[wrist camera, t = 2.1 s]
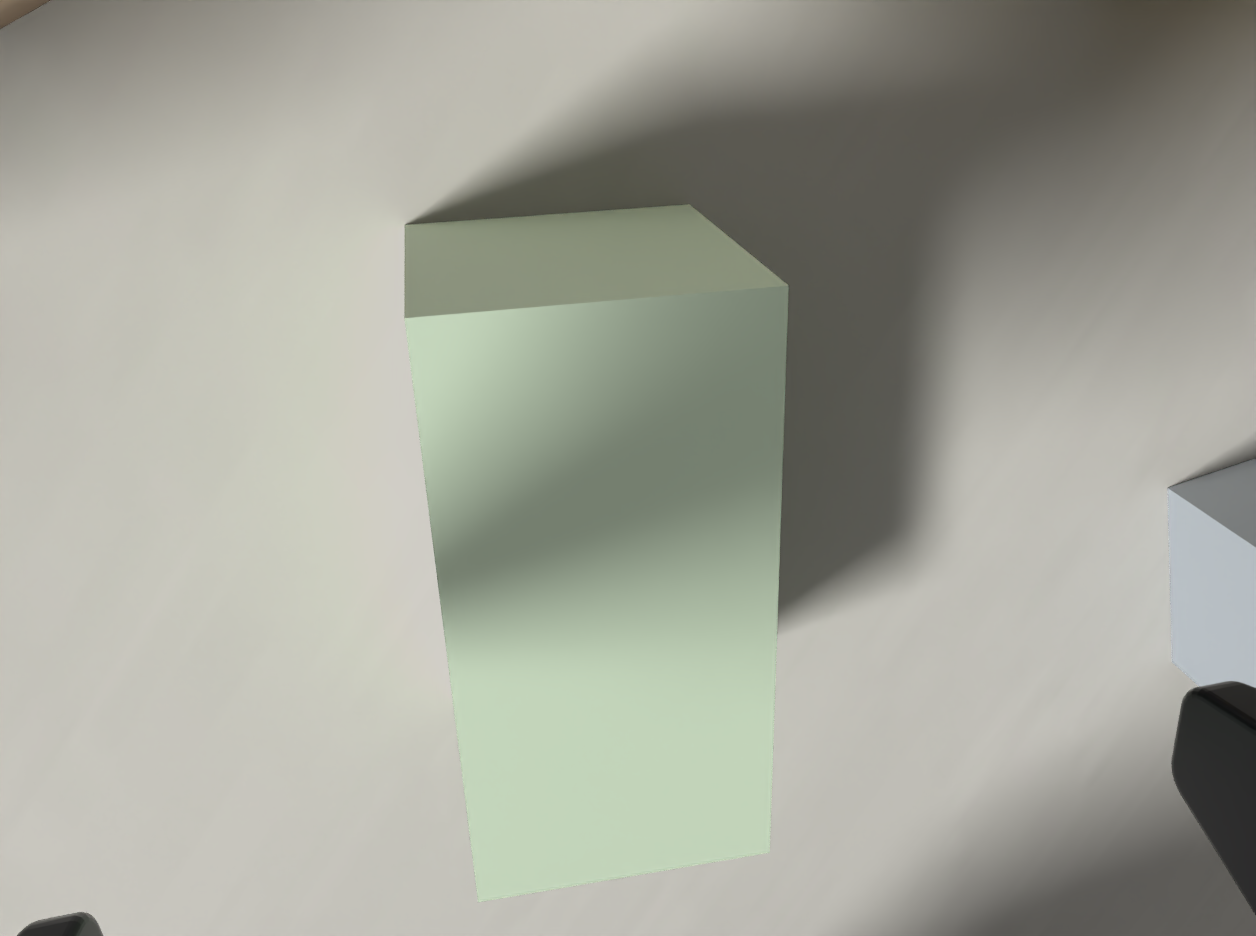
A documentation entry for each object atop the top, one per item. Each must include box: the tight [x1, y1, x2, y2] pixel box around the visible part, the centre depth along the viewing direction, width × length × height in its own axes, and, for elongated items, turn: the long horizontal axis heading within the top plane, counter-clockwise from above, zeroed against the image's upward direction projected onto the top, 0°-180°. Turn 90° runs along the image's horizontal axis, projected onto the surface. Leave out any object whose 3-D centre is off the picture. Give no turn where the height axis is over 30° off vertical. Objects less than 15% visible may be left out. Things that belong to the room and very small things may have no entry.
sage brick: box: [405, 204, 789, 902], centre depth 13 cm, size 7×4×4 cm, turn 2°
